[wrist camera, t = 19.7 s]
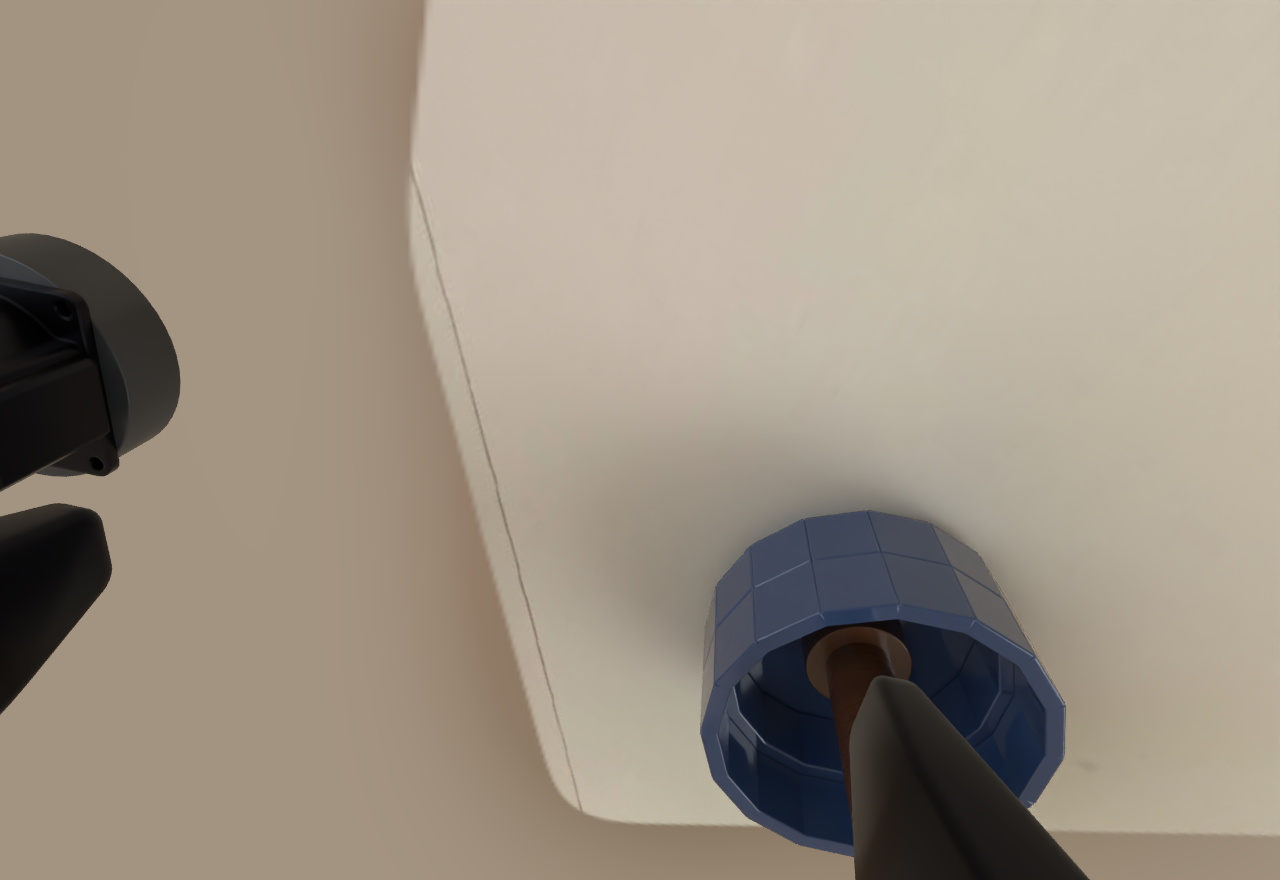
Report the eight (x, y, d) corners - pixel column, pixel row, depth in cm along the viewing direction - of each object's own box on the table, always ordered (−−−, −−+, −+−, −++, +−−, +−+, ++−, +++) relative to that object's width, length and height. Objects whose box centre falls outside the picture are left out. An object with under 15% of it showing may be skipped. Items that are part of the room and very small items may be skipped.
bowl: (684, 694, 26) (674, 819, 21) (742, 474, 21) (745, 572, 17) (938, 747, 25) (983, 885, 21) (1047, 535, 21) (1134, 651, 17)
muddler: (783, 618, 23) (847, 1221, 10) (874, 580, 22) (1065, 1200, 9) (828, 684, 24) (936, 1306, 11) (918, 650, 23) (1143, 1294, 10)
